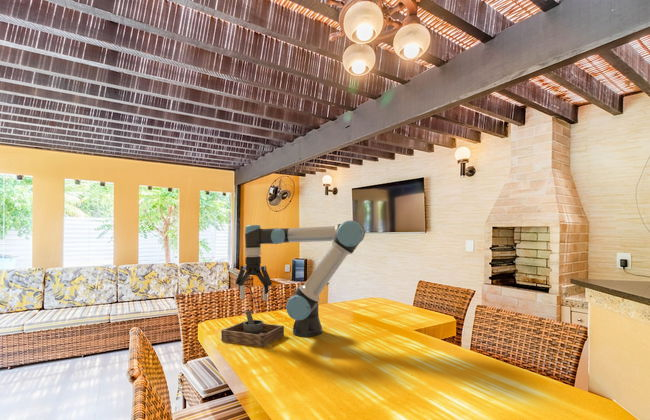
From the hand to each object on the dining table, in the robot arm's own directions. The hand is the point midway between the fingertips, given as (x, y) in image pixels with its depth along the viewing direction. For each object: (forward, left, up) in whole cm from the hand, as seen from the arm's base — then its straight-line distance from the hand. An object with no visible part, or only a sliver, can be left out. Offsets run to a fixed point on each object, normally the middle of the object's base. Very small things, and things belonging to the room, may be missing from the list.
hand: (253, 299), depth 173 cm
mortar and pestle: (+1, 0, -18) cm, 18 cm away
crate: (0, 0, -19) cm, 19 cm away
